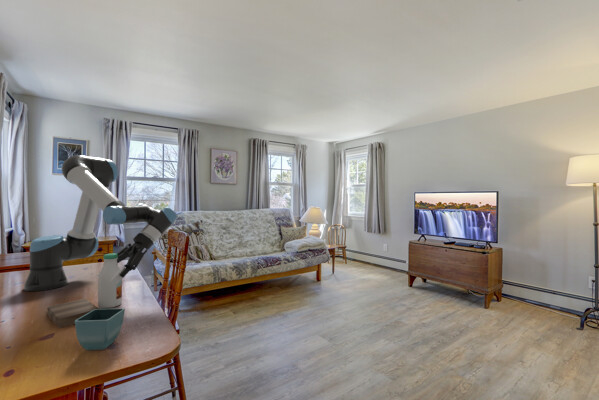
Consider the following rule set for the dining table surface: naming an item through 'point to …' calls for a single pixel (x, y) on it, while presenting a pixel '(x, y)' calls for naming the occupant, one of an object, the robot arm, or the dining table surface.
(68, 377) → the dining table surface
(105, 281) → the milk bottle
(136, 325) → the dining table surface
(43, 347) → the dining table surface
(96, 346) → the flower pot
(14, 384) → the dining table surface
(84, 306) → the brown flat block
